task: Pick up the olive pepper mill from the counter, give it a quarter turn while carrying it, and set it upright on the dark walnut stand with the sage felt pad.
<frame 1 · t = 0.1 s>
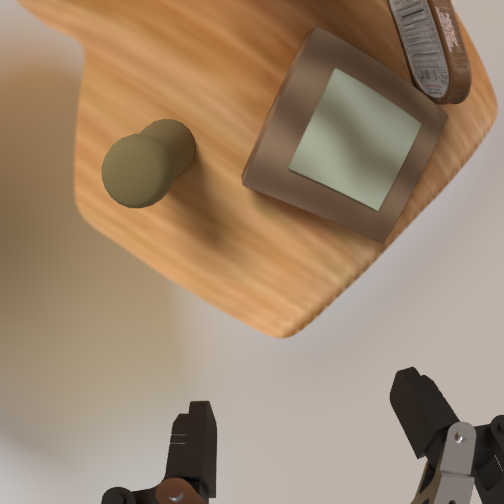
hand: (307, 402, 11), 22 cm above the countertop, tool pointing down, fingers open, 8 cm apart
olive pepper mill: (165, 148, 27), on the countertop
tin: (405, 38, 22), on the countertop
stand: (345, 136, 27), on the countertop
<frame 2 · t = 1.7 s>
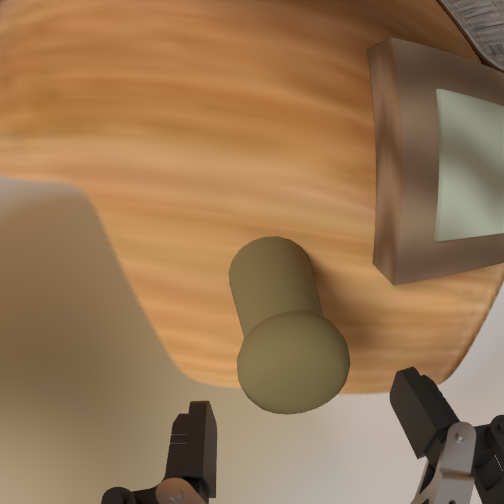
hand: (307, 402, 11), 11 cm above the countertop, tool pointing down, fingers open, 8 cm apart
olive pepper mill: (270, 274, 22), on the countertop
tin: (449, 10, 14), on the countertop
stand: (456, 161, 19), on the countertop
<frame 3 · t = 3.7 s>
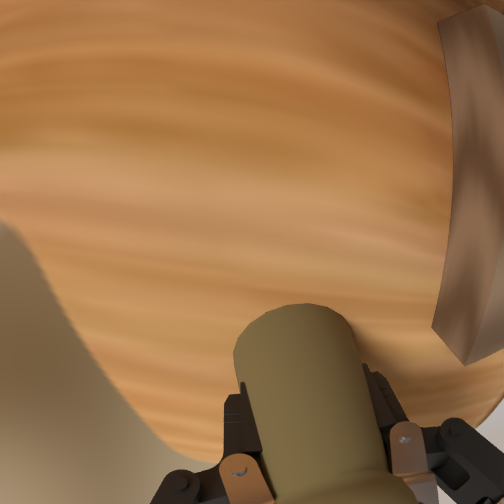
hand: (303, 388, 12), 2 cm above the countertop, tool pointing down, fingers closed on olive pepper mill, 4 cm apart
olive pepper mill: (294, 352, 14), on the countertop, touching gripper
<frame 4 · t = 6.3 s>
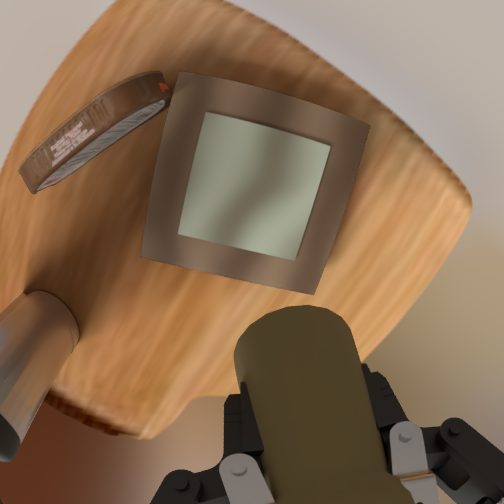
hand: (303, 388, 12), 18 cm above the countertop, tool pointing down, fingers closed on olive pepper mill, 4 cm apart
olive pepper mill: (294, 353, 14), point 16 cm above the countertop, touching gripper
tin: (110, 134, 24), on the countertop
stand: (250, 182, 26), on the countertop
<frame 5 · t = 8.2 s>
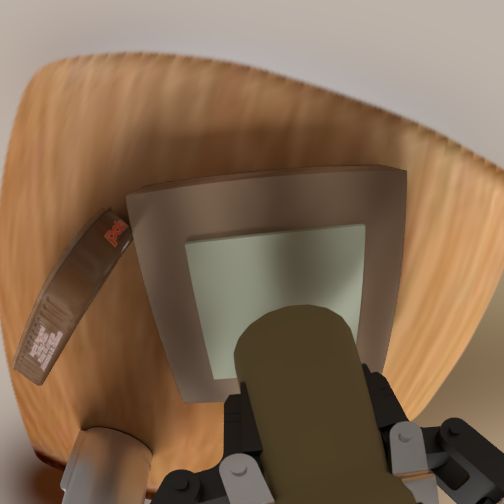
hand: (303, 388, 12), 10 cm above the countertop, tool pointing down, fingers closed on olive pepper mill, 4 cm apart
olive pepper mill: (294, 353, 14), point 8 cm above the countertop, touching gripper
tin: (89, 278, 21), on the countertop
stand: (274, 283, 21), on the countertop
when the fingers open (8 cm above the countertop, at t = 9.4 s): olive pepper mill drops 2 cm, resting on stand.
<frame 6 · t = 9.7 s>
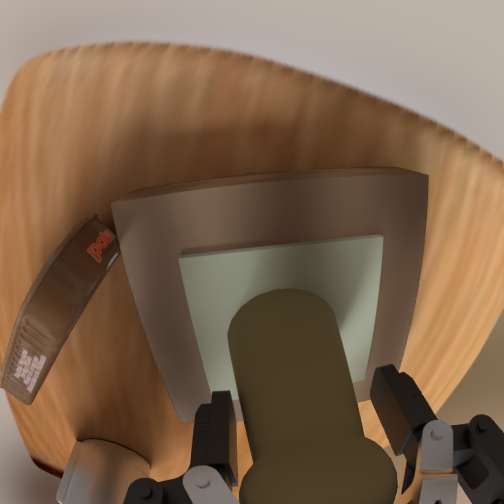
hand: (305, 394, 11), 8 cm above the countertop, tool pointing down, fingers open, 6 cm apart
olive pepper mill: (282, 334, 16), point 4 cm above the countertop, touching stand
tin: (79, 290, 19), on the countertop
stand: (279, 297, 19), on the countertop
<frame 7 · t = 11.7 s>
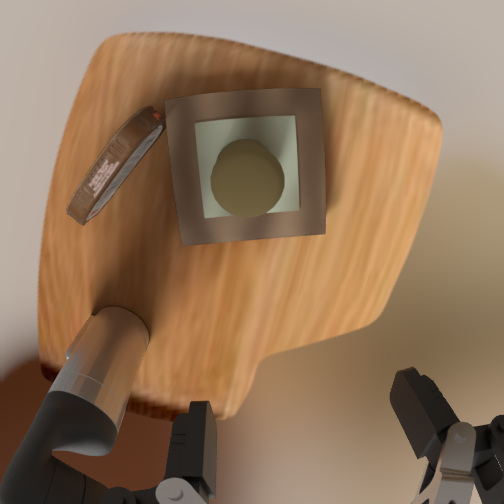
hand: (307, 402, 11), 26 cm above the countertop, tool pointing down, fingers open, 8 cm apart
olive pepper mill: (245, 167, 29), point 4 cm above the countertop, touching stand
tin: (128, 163, 32), on the countertop
stand: (247, 163, 33), on the countertop
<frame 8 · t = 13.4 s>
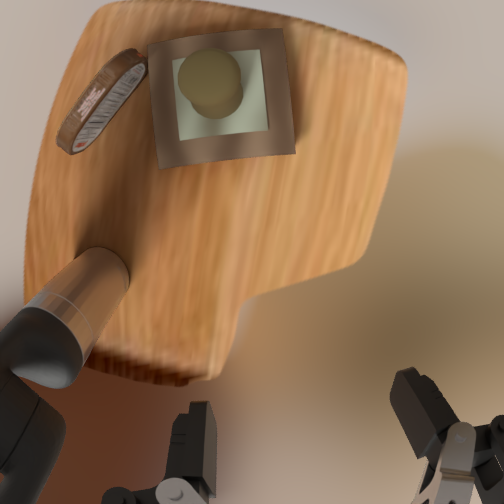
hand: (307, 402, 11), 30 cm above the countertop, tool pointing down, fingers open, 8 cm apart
olive pepper mill: (216, 94, 30), point 4 cm above the countertop, touching stand
tin: (114, 105, 32), on the countertop
stand: (220, 97, 33), on the countertop
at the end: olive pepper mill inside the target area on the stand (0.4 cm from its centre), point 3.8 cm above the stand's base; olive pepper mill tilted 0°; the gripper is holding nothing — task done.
